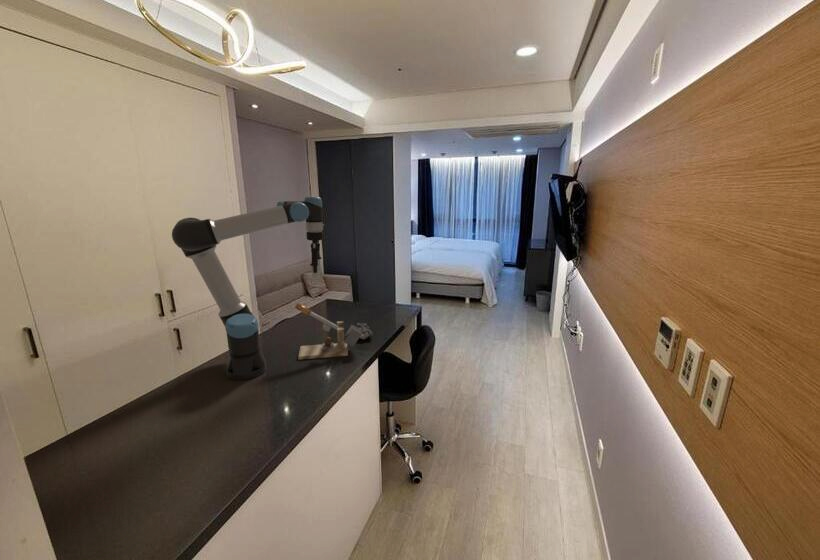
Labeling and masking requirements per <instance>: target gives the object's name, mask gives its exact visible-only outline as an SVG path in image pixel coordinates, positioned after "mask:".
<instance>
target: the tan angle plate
mask: <svg viewBox="0 0 820 560" xmlns="http://www.w3.org/2000/svg"><path fill="white" fill-rule="evenodd" d="M336 325H338V326H342V328H337V330H336V332H337V333H336V335H337V342H336V343H334V342H333V339H332V338H331V337H330V336H325V338H323V343H322V344H310V345H300V348H299V351H298V357H297V358H298V360H308V359H309V360H311V359H323V358H335V357H346V356H347V357H348V356H349V348H348V346H349V345H348V344H346V343H344V336H345V327H344V326H345V325H344V320H340V321H336Z"/></svg>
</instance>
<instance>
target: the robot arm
mask: <svg viewBox="0 0 820 560" xmlns="http://www.w3.org/2000/svg"><path fill="white" fill-rule="evenodd" d="M297 222H298V223H301V222H305V231H306V240H307V241H312V243H310V250H311V263H310V264H309V266H311V270H312V271H311V272H312V273H311V274H312V280H315V281H316V280H320V275H319V274H320V273H321V271H322V270H321V260H322V257H321V251H320V248H321V243H320V241H323V240H324V232H323V230H324V226H325V224H324V223H323V201H322V198H321V197H319V196H305V197H304V200H301V201H300V200H299V201H297V200H296V201H295V200H293V201H292V200H279V201H277V203H276V206H273V207H269V208H265V209H260V210H255V211H251V212H247V213H246V212H245V213H243V214H236V215H232V216H228V217H225V218H224V217H223V218H220V219H215V220H213V219H212V218H207V219H206V218H205V219H202V220H201V219H199V218H196V217H185V218H182V219H180V220H178V221H177V222H176V224H175V225H174V227H173V228H172V229H171V230H172V231H171V238H172V241H173V242H174V244H175V245H176V246H177V247H178V248H180V249H181V251H182V253H183V254H184V257H186V258H189V259H191V260H192V262H193V263H194V265H195V267H196V269H197V270H198V273H199V274H200V276H201V278H202V280H203V281H204V283H205V285H206V287H207V288H208V291H209V292H210V294H211V296H212V297H213V299H214V301H215V304H216V305H217V306H218V308H219V313H218V316H219V318H220V320H221V322H222V323H223V326H224V328H225V333H226V339H227V346H228V347H227V348H228V354H229V357H228V361H227V367H226V370H225V371H226V376H227V378H229V379H230V380H235V381H242V380H243V381H244V380H249V379H253V378H255V377H258V376H260V375H262V374H264V372H265V371H266V370H267V368H268V367H267V361H266V359H265V357H264V355H263V353H262V351H261V345H260V334H259V332H260V331H259V322H258V318H257V317H256V316H255V315H254V314H253V312H251V310H250V308H249V306H248V304H247V303H246V301H242V300H241V299H240V297H239V295H238V293H237V291H236V289H235V288H234V286H233V284H232V282H231V279H230V278H229V276H228V274H227V272H226V271H225V268H224V266H223V264H222V263H221V261H220V259H219V257H218V255H217V252H216V251H215V250H216V248H217V246H218V245H219V244H220V243H221V241H225V240H228V239H233V238H236V237H240V236H245V235H247V234H248V235H249V234H252V233H255V232H259V231H264V230H268V229H272V228H275V227H279V226H280V227H281V226H283V225H287V224H292V223H297Z"/></svg>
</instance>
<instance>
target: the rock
mask: <svg viewBox="0 0 820 560" xmlns="http://www.w3.org/2000/svg"><path fill="white" fill-rule="evenodd" d="M355 327H357V328H359V329H361V336H360V337H359V339H362V340H366V339H367V338H368V337H370V336H373V335H374V334H373V332H372V330H371V329H370V327H369V326H368V325H367V323H360V322H358V323H356V325H355Z"/></svg>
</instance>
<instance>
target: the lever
mask: <svg viewBox="0 0 820 560" xmlns="http://www.w3.org/2000/svg"><path fill="white" fill-rule="evenodd" d="M294 309H296V310H297V311H300V312H302V313H303V314H305V315H307V316H311V317H312V318H314V319H316V320H318V321H320V323H321V322H322V323H323V325H322V329H323V330H324V331H326V332H330V330H331V329H334V330H336V331H337V328H342V326H338V325H337V323H334V322H332V321H330V320H328V319H326V318H325V317H323V316H322V315H319V314H317V313H315V312H313V311H312V310H311V309H310V308H308V307H306V306H304V305H302V304H301V303H299V302H297V303H296V305H294ZM360 336H361V329H359V328H357V327H356V325H354V324H351V325H350V327H349V328H348V330H347V331H346V332H345V333H344V343H346V344H347V346H349V347H351V348H354V347H355V345H356V343H357V342H358V340H359V339H360V338H359V337H360Z"/></svg>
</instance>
